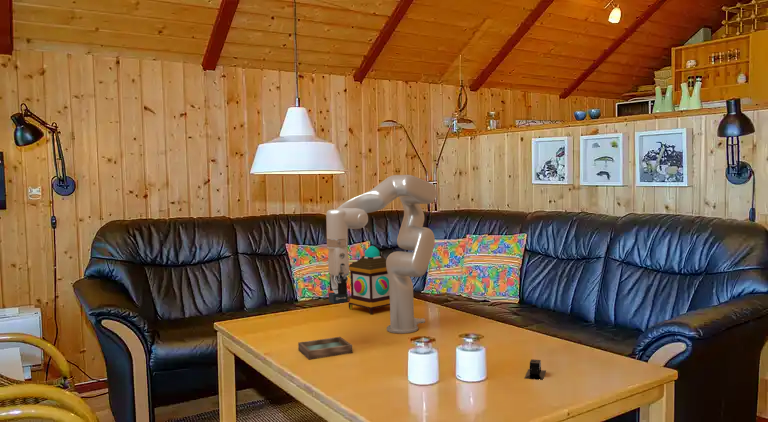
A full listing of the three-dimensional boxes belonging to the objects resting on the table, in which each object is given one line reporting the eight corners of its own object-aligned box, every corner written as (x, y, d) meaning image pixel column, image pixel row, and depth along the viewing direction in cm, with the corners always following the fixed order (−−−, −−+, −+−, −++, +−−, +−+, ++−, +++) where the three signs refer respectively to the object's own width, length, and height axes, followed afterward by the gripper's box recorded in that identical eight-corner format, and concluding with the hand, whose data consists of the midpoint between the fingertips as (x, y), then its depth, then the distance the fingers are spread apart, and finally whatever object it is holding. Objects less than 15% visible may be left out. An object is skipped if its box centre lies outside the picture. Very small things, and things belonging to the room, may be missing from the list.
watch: (335, 304, 211) (335, 273, 211) (326, 300, 218) (326, 270, 218) (350, 302, 214) (349, 272, 213) (340, 299, 221) (340, 269, 220)
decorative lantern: (377, 303, 296) (375, 242, 294) (404, 309, 280) (402, 245, 279) (344, 309, 283) (342, 246, 281) (370, 316, 268) (368, 249, 266)
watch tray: (340, 344, 223) (340, 336, 223) (352, 352, 211) (352, 345, 211) (298, 350, 217) (298, 342, 216) (308, 359, 205) (308, 351, 205)
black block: (526, 368, 189) (526, 354, 189) (550, 370, 187) (550, 356, 186) (520, 381, 178) (520, 366, 177) (546, 384, 175) (545, 368, 175)
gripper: (355, 245, 209) (356, 295, 209) (339, 241, 225) (339, 288, 225) (335, 246, 206) (336, 296, 206) (319, 242, 221) (320, 289, 222)
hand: (338, 292), depth 216 cm, fingers closed on watch, 8 cm apart
